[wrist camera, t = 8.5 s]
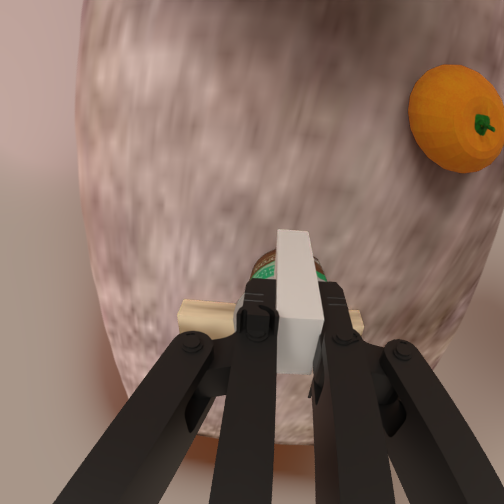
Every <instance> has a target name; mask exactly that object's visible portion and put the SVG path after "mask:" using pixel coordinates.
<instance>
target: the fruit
mask: <svg viewBox="0 0 504 504" xmlns="http://www.w3.org/2000/svg"><path fill="white" fill-rule="evenodd" d="M408 115H409V122H410V128H411V131H412V133H413V135H414V138H415V140H416V142H417V144H418V145H419V147H420V148H421V149H422V150H423V152H424V153H425V154H426V156H427V157H428V158H429V159H431V160H432V161H434V162H435V163H437V164H438V165H439V166H441V167H442V168H444V169H447V170H450V171H454V172H458V173H470V172H477V171H479V170H481V169H483V168H485V167H487V166H488V165H490V164H491V163H492V162H493V161H494V160H495V159H496V157H497V156H498V155H499V154H500V152H501V150H502V148H503V146H504V106H503V103H502V100H501V98H500V96H499V95H498V93H497V91H496V90H495V88H494V87H493V85H492V84H491V83H490V82H489V81H487V80H486V79H485V78H484V77H483V76H482V75H481V74H480V73H478V72H476V71H474V70H472V69H469V68H467V67H465V66H462V65H440V66H438V67H435V68H433V69H431V70H428V71H427V72H426V73H425V74H424V75H423V76H422V77H421V78H420V79H419V80H418V81H417V82H416V83H415V86H414V88H413V90H412V92H411V95H410V99H409V108H408Z"/></svg>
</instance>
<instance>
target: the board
mask: <svg viewBox="0 0 504 504" xmlns="http://www.w3.org/2000/svg"><path fill="white" fill-rule="evenodd" d="M235 307H236V304H235V303H223V302H211V301H200V300H189V299H184V300H183V302H182V305H181V307H180V309H179V312H178V314H177V317H178V324H179V331H180V334H181V333H183V332H186V331H200V332H203V333H205V334H207V335H208V336H209V337H210V338H211V339H212V340H213V339H220V338H224V337H227V336H230V335H232V334H233V333H234V332H235V331H234V323H233V314H234V310H235ZM349 314H350V318H351V322H352V326H353V329H355V330H356V331H357V332H358V333H359V334H360V335H362V332H363V329H364V325H363V321H362V318H361V315H360V312H359V310H349Z"/></svg>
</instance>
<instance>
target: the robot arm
mask: <svg viewBox="0 0 504 504" xmlns="http://www.w3.org/2000/svg"><path fill="white" fill-rule="evenodd" d="M312 368H313V373H314V377H313V380H312V384H311V387H310V391H309V395H308V398H311V396H312V407H313V427H314V452H315V491H316V504H395V497H394V490H393V484H392V477H391V470H390V464H389V458H390V460H391V462H392V464H393V467H394V468H395V471H396V473H397V475H398V478H399V480H400V482H401V484H402V487H403V489H404V491H405V493H406V496H407V498H408V500H409V503H410V504H504V487H503V485H502V483H501V481H500V479H499V477H498V476H497V474H496V472H495V470H494V468H493V467H492V465H491V463H490V461H489V459H488V458H487V456H486V454H485V452H484V451H483V449H482V448H481V446H480V444H479V442H478V441H477V439H476V437H475V436H474V434H473V432H472V431H471V429H470V427H469V426H468V424H467V422H466V421H465V419H464V418H463V416H462V415H461V413H460V411H459V410H458V408H457V407H456V405H455V403H454V402H453V400H452V399H451V397H450V396H449V394H448V393H447V391H446V390H445V388H444V387H443V385H442V384H441V382H440V381H439V379H438V378H437V376H436V375H435V373H434V372H433V370H432V369H431V367H430V366H429V365H428V363H427V362H426V360H425V359H424V357H423V356H422V355H421V353H420V352H419V350H418V349H417V348H416V347H415V346H414V345H413V344H411V343H410V342H408V341H405V340H401V339H397V340H392V341H389V342H388V343H387V344H386V345H385V347H380V346H376V345H372V344H369V343H366V342H365V341H363V339H362V337H361V335H360V334H359V333H358V332H357V331H356V330H355V329H353V326H352V322H351V318H350V314H349V310H348V307H347V303H346V299H345V296H344V292H343V289H342V288H341V287H340V286H339V285H338V284H337V283H336V282H324V281H318V280H317V275H316V269H315V264H314V258H313V253H312V248H311V243H310V238H309V233H308V231H297V230H282V229H278V232H277V245H276V258H275V270H274V279H262V278H252V279H251V280H250V281H249V282H248V283H247V284H246V288H245V294H244V301H243V306H242V307H241V308H239V310H238V312H237V314H236V332H234V333H233V334H232V335H230V336H227V337H224V338H220V339H213V340H212V339H211V338H210V337H209V336H208V335H207V334H205V333H203V332H200V331H186V332H183V333H181V334H179V335H177V336H176V337H175V338H174V339H173V340H172V342H171V343H170V344H169V346H168V347H167V348H166V350H165V351H164V353H163V354H162V355H161V357H160V358H159V359H158V361H157V362H156V363H155V365H154V366H153V367H152V369H151V370H150V371H149V373H148V374H147V375H146V377H145V378H144V379H143V381H142V382H141V383H140V385H139V386H138V387H137V389H136V390H135V392H134V393H133V394H132V396H131V397H130V398H129V400H128V401H127V402H126V404H125V405H124V406H123V408H122V409H121V411H120V412H119V413H118V415H117V416H116V417H115V419H114V420H113V421H112V423H111V424H110V426H109V427H108V428H107V430H106V431H105V432H104V434H103V435H102V436H101V438H100V439H99V441H98V442H97V443H96V445H95V446H94V447H93V449H92V450H91V452H90V453H89V454H88V456H87V457H86V458H85V460H84V461H83V462H82V464H81V466H80V467H79V468H78V469H77V471H76V472H75V474H74V475H73V476H72V478H71V479H70V481H69V482H68V483H67V485H66V486H65V488H64V489H63V490H62V492H61V493H60V495H59V496H58V497H57V499H56V500H55V501H54V503H53V504H158V503H159V501H160V500H161V498H162V496H163V494H164V493H165V491H166V489H167V487H168V485H169V484H170V482H171V480H172V478H173V477H174V475H175V473H176V471H177V469H178V468H179V466H180V464H181V462H182V460H183V458H184V457H185V455H186V453H187V451H188V449H189V447H190V446H191V444H192V442H193V440H194V438H195V436H196V434H197V433H198V431H199V429H200V427H201V425H202V423H203V421H204V419H205V418H206V416H207V414H208V412H209V410H210V408H211V406H212V404H213V402H214V400H215V398H216V396H222V395H226V400H225V406H224V412H223V418H222V424H221V430H220V437H219V443H218V449H217V455H216V461H215V468H214V474H213V480H212V486H211V493H210V499H209V504H271V501H272V482H273V461H274V438H275V410H276V375H277V373H282V374H307V375H311V372H312ZM388 456H389V458H388Z"/></svg>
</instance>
